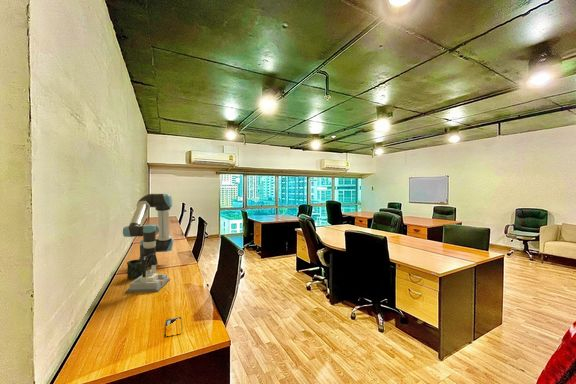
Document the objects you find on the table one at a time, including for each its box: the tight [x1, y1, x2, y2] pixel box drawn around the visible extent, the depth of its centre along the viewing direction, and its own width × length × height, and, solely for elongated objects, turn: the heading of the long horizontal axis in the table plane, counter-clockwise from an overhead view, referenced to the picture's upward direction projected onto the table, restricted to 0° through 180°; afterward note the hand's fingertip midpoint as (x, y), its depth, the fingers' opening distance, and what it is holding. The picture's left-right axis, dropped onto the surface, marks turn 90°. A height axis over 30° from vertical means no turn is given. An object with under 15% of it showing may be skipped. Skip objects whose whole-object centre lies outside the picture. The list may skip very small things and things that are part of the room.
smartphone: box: [165, 316, 182, 326], centre depth 116 cm, size 7×1×15 cm
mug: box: [126, 259, 143, 280], centre depth 179 cm, size 11×15×12 cm
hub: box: [140, 272, 164, 285], centre depth 165 cm, size 13×8×6 cm, turn 96°
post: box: [146, 268, 152, 277], centre depth 164 cm, size 3×3×10 cm
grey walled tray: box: [125, 273, 171, 294], centre depth 164 cm, size 20×20×5 cm
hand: (149, 277), depth 165 cm, fingers open, 12 cm apart
